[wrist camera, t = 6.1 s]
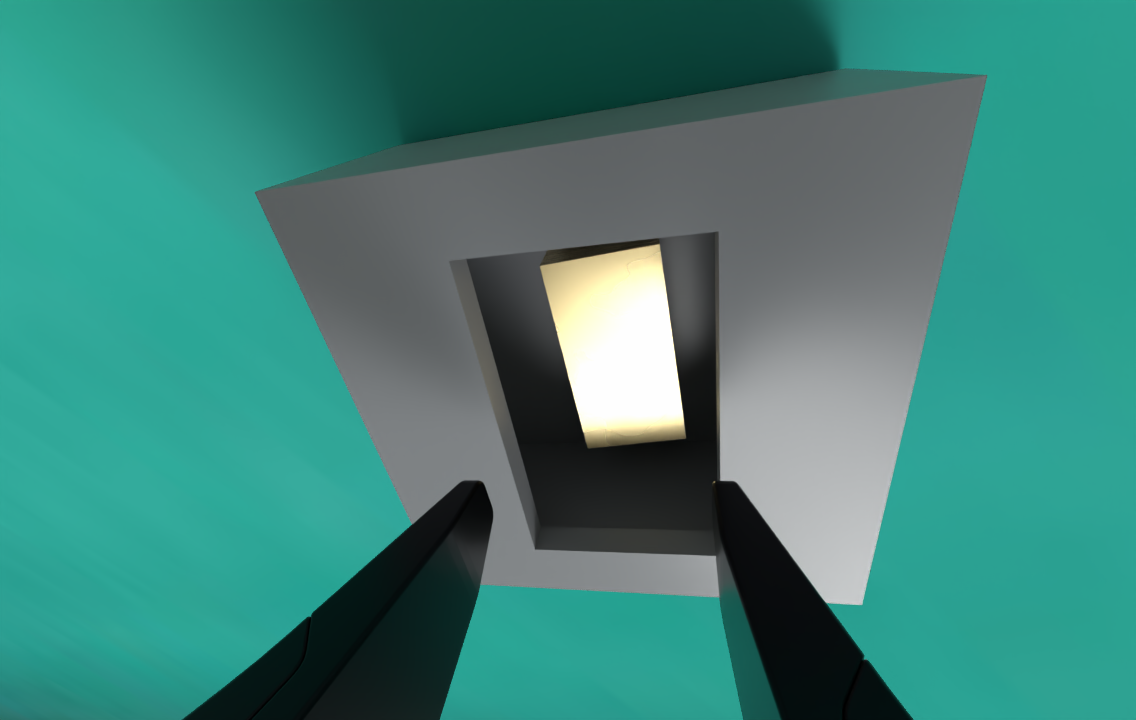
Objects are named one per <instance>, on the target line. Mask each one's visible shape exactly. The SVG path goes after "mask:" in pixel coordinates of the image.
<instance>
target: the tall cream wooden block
mask: <svg viewBox="0 0 1136 720" xmlns="http://www.w3.org/2000/svg"><path fill="white" fill-rule="evenodd" d="M540 269H541V273H542V277H543V281H544V285H545V288H546V292H547V296H548V300H549V303H550V307H551V311H552V315H553V319H554V322H555V326H556V330H557V334H558V338H559V341H560V345H561V349H562V353H563V357H564V360H565V364H566V368H567V372H568V375H569V379H570V383H571V387H572V391H573V394H574V398H575V402H576V406H577V410H578V413H579V417H580V421H581V425H582V429H583V432H584V436H585V440H586V444H587V448H598V447H608V446H618V445H628V444H638V443H648V442H658V441H667V440H677V439H686V434H685V426H684V419H683V412H682V404H681V397H680V390H679V382H678V375H677V368H676V360H675V353H674V346H673V338H672V331H671V324H670V316H669V309H668V302H667V294H666V287H665V280H664V272H663V265H662V258H661V250H660V243H659V238H655V239H646V240H636V241H627V242H618V243H609V244H600V245H591V246H581V247H572V248H563V249H554V250H547V252H546V254H545V256H544V258H543V260H542V262H541V264H540Z"/></svg>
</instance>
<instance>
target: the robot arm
mask: <svg viewBox="0 0 1136 720" xmlns="http://www.w3.org/2000/svg"><path fill="white" fill-rule="evenodd" d="M712 518H713V531H714V542H715V554H716V565H717V577H718V588H719V598H720V607H721V613H722V619H723V624H724V629H725V634H726V638H727V643H728V648H729V653H730V658H731V662H732V667H733V672H734V677H735V682H736V687H737V691H738V696H739V701H740V706H741V711H742V715H743V720H913V718H912V717H911V716H910V714H909V713H908V712H907V711H906V709H905V708H904V707H903V705H902V704H901V703H900V702H899V700H898V699H897V698H896V696H895V695H894V694H893V693H892V691H891V690H890V689H889V687H888V686H887V685H886V683H885V682H884V681H883V679H882V678H881V677H880V675H879V674H878V672H877V671H876V670H875V668H874V667H873V666H872V664H871V663H870V662H869V661H868V660H864V654H863V652H862V651H861V650H860V648H859V647H858V646H857V644H856V643H855V642H854V640H853V639H852V638H851V636H850V635H849V634H848V632H847V631H846V629H845V628H844V627H843V625H842V624H841V623H840V621H839V620H838V619H837V617H836V616H835V615H834V613H833V612H832V610H831V609H830V608H829V606H828V605H827V604H826V602H825V601H824V600H823V598H822V597H821V596H820V594H819V593H818V591H817V590H816V589H815V587H814V586H813V585H812V583H811V582H810V581H809V579H808V578H807V577H806V575H805V574H804V572H803V571H802V570H801V568H800V567H799V566H798V564H797V563H796V562H795V560H794V559H793V558H792V556H791V555H790V553H789V552H788V551H787V549H786V548H785V547H784V545H783V544H782V543H781V541H780V540H779V539H778V537H777V536H776V534H775V533H774V532H773V530H772V529H771V528H770V526H769V525H768V524H767V522H766V521H765V520H764V518H763V517H762V515H761V514H760V513H759V511H758V510H757V509H756V507H755V506H754V505H753V503H752V502H751V501H750V499H749V498H748V496H747V495H746V494H745V492H744V491H743V490H742V488H741V487H740V486H739V484H738V483H737V482H735V481H714V482H713V483H712ZM492 524H493V508H492V505H491V502H490V499H489V496H488V493H487V490H486V487H485V485H484V483H483V482H482V481H480V480H464V481H461V482H460V483H458V484H457V485H456V486H455V487H454V488H453V489H452V490H450V491H449V492H448V493H447V494H446V495H445V496H444V497H443V498H441V499H440V500H439V501H438V502H437V503H436V504H435V505H434V506H432V507H431V508H430V509H429V510H428V511H427V512H426V513H425V514H423V515H422V516H421V517H420V518H419V519H418V520H417V521H415V522H414V523H413V524H412V525H411V526H410V527H409V528H408V529H406V530H405V531H404V532H403V533H402V534H401V535H400V536H399V537H397V538H396V539H395V540H394V541H393V542H392V543H391V544H389V545H388V546H387V547H386V548H385V549H384V550H383V551H382V552H380V553H379V554H378V555H377V556H376V557H375V558H374V559H373V560H371V561H370V562H369V563H368V564H367V565H366V566H365V567H363V568H362V569H361V570H360V571H359V572H358V573H357V574H356V575H354V576H353V577H352V578H351V579H350V580H349V581H348V582H347V583H345V584H344V585H343V586H342V587H341V588H340V589H339V590H338V591H336V592H335V593H334V594H333V595H332V596H331V597H330V598H328V599H327V600H326V601H325V602H324V603H323V604H322V605H321V606H319V607H318V608H317V609H316V610H315V611H314V612H313V613H312V615H311V617H307V618H306V619H305V620H303V621H302V622H301V623H300V624H299V625H298V626H297V627H296V628H294V629H293V630H292V631H291V632H290V633H289V634H288V635H286V636H285V637H284V638H283V639H282V640H281V641H279V642H278V643H277V644H276V645H275V646H274V647H272V648H271V649H270V650H269V651H268V652H267V653H265V654H264V655H263V656H262V657H261V658H260V659H258V660H257V661H256V662H255V663H253V664H252V665H251V666H250V667H248V668H247V669H246V670H245V671H243V672H242V673H241V674H240V675H238V676H237V677H236V678H235V679H233V680H232V681H231V682H230V683H228V684H227V685H226V686H225V687H223V688H222V689H221V690H220V691H218V692H217V693H216V694H214V695H213V696H212V697H211V698H209V699H208V700H207V701H205V702H204V703H203V704H202V705H200V706H199V707H198V708H196V709H195V710H194V711H193V712H191V713H190V714H189V715H187V716H186V717H185V718H184V719H182V720H440V717H441V713H442V710H443V707H444V704H445V701H446V697H447V694H448V691H449V688H450V684H451V681H452V678H453V675H454V672H455V668H456V665H457V662H458V659H459V656H460V652H461V649H462V646H463V643H464V639H465V636H466V633H467V630H468V627H469V623H470V620H471V617H472V614H473V610H474V607H475V604H476V600H477V597H478V593H479V588H480V584H481V579H482V574H483V569H484V564H485V559H486V554H487V549H488V544H489V539H490V534H491V529H492Z"/></svg>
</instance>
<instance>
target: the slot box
mask: <svg viewBox="0 0 1136 720" xmlns="http://www.w3.org/2000/svg"><path fill="white" fill-rule="evenodd" d="M986 79H987V75H975V74H953V73H932V72H910V71H888V70H867V69H840V70H835V71H829V72H823V73H817V74H811V75H805V76H800V77H794V78H788V79H782V80H776V81H771V82H765V83H759V84H753V85H747V86H741V87H736V88H730V89H724V90H718V91H712V92H707V93H701V94H695V95H689V96H683V97H677V98H672V99H666V100H660V101H654V102H648V103H642V104H637V105H631V106H625V107H619V108H613V109H608V110H602V111H596V112H590V113H584V114H578V115H573V116H567V117H561V118H555V119H549V120H544V121H538V122H532V123H526V124H520V125H514V126H509V127H503V128H497V129H491V130H485V131H479V132H474V133H468V134H462V135H456V136H450V137H445V138H439V139H433V140H427V141H421V142H415V143H410V144H404V145H398V146H395V147H392V148H389V149H386V150H383V151H380V152H377V153H373V154H370V155H367V156H364V157H361V158H358V159H355V160H352V161H349V162H346V163H343V164H339V165H336V166H333V167H330V168H327V169H324V170H321V171H318V172H315V173H312V174H309V175H305V176H302V177H299V178H296V179H293V180H290V181H287V182H284V183H281V184H278V185H275V186H271V187H268V188H265V189H262V190H259V191H256V192H255V194H256V196H257V198H258V200H259V202H260V204H261V207H262V209H263V211H264V213H265V215H266V217H267V219H268V221H269V223H270V226H271V228H272V230H273V232H274V234H275V236H276V238H277V240H278V242H279V245H280V247H281V249H282V251H283V253H284V255H285V257H286V259H287V261H288V264H289V266H290V268H291V270H292V272H293V274H294V276H295V278H296V280H297V283H298V285H299V287H300V289H301V291H302V293H303V295H304V297H305V299H306V302H307V304H308V306H309V308H310V310H311V312H312V314H313V316H314V318H315V321H316V323H317V325H318V327H319V329H320V331H321V333H322V335H323V337H324V340H325V342H326V344H327V346H328V348H329V350H330V352H331V354H332V356H333V358H334V361H335V363H336V365H337V367H338V369H339V371H340V373H341V375H342V377H343V380H344V382H345V384H346V386H347V388H348V390H349V392H350V394H351V396H352V399H353V401H354V403H355V405H356V407H357V409H358V411H359V413H360V415H361V418H362V420H363V422H364V424H365V426H366V428H367V430H368V432H369V434H370V437H371V439H372V441H373V443H374V445H375V447H376V449H377V451H378V453H379V456H380V458H381V460H382V462H383V464H384V466H385V468H386V470H387V472H388V475H389V477H390V479H391V481H392V483H393V485H394V487H395V489H396V491H397V494H398V496H399V498H400V500H401V502H402V504H403V506H404V508H405V510H406V513H407V515H408V517H409V519H410V521H411V523H412V524H413V523H414V522H415V521H417V520H418V519H419V518H420V517H421V516H422V515H423V514H425V513H426V512H427V511H428V510H429V509H430V508H431V507H432V506H434V505H435V504H436V503H437V502H438V501H439V500H440V499H441V498H443V497H444V496H445V495H446V494H447V493H448V492H449V491H450V490H452V489H453V488H454V487H455V486H456V485H457V484H458V483H460V482H461V481H464V480H480V481H482V482H483V483H484V485H485V487H486V490H487V493H488V496H489V499H490V502H491V505H492V508H493V524H492V529H491V534H490V539H489V544H488V549H487V554H486V559H485V564H484V569H483V574H482V579H481V584H482V585H500V586H519V587H538V588H556V589H575V590H593V591H612V592H631V593H649V594H668V595H687V596H705V597H719V588H718V577H717V565H716V554H715V542H714V531H713V518H712V483H713V482H714V481H735V482H737V483H738V484H739V486H740V487H741V488H742V490H743V491H744V492H745V494H746V495H747V496H748V498H749V499H750V501H751V502H752V503H753V505H754V506H755V507H756V509H757V510H758V511H759V513H760V514H761V515H762V517H763V518H764V520H765V521H766V522H767V524H768V525H769V526H770V528H771V529H772V530H773V532H774V533H775V534H776V536H777V537H778V539H779V540H780V541H781V543H782V544H783V545H784V547H785V548H786V549H787V551H788V552H789V553H790V555H791V556H792V558H793V559H794V560H795V562H796V563H797V564H798V566H799V567H800V568H801V570H802V571H803V572H804V574H805V575H806V577H807V578H808V579H809V581H810V582H811V583H812V585H813V586H814V587H815V589H816V590H817V591H818V593H819V594H820V596H821V597H822V598H823V600H824V601H825V602H826V603H836V604H854V605H862V602H863V598H864V593H865V589H866V585H867V581H868V576H869V572H870V568H871V564H872V560H873V555H874V551H875V547H876V543H877V539H878V534H879V530H880V526H881V522H882V517H883V513H884V509H885V505H886V501H887V496H888V492H889V488H890V484H891V479H892V475H893V471H894V467H895V463H896V458H897V454H898V450H899V446H900V441H901V437H902V433H903V429H904V425H905V420H906V416H907V412H908V408H909V403H910V399H911V395H912V391H913V387H914V382H915V378H916V374H917V370H918V365H919V361H920V357H921V353H922V349H923V344H924V340H925V336H926V332H927V328H928V323H929V319H930V315H931V311H932V306H933V302H934V298H935V294H936V290H937V285H938V281H939V277H940V273H941V268H942V264H943V260H944V256H945V252H946V247H947V243H948V239H949V235H950V230H951V226H952V222H953V218H954V214H955V209H956V205H957V201H958V197H959V192H960V188H961V184H962V180H963V176H964V171H965V167H966V163H967V159H968V154H969V150H970V146H971V142H972V138H973V133H974V129H975V125H976V121H977V117H978V112H979V108H980V104H981V100H982V95H983V91H984V87H985V83H986ZM655 238H659V243H660V250H661V258H662V265H663V272H664V280H665V287H666V294H667V302H668V309H669V316H670V324H671V331H672V338H673V346H674V353H675V360H676V368H677V375H678V382H679V390H680V397H681V404H682V412H683V419H684V426H685V434H686V439H677V440H667V441H658V442H648V443H638V444H628V445H618V446H608V447H598V448H587V444H586V440H585V436H584V432H583V429H582V425H581V421H580V417H579V413H578V410H577V406H576V402H575V398H574V394H573V391H572V387H571V383H570V379H569V375H568V372H567V368H566V364H565V360H564V357H563V353H562V349H561V345H560V341H559V338H558V334H557V330H556V326H555V322H554V319H553V315H552V311H551V307H550V303H549V300H548V296H547V292H546V288H545V285H544V281H543V277H542V273H541V269H540V264H541V262H542V260H543V258H544V256H545V254H546V252H547V250H554V249H563V248H572V247H581V246H591V245H600V244H609V243H618V242H627V241H636V240H646V239H655Z"/></svg>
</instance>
